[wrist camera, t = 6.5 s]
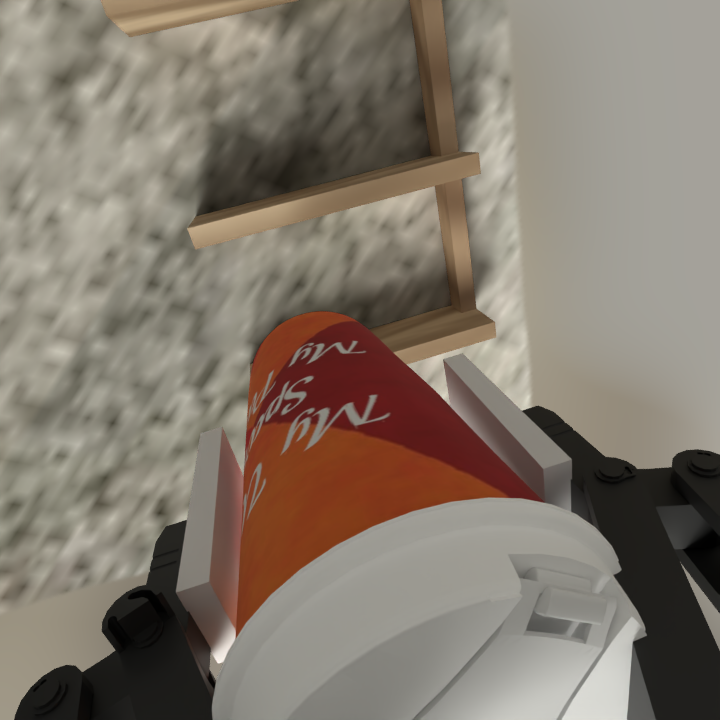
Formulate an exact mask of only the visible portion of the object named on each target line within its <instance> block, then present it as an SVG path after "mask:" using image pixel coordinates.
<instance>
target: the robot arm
mask: <svg viewBox="0 0 720 720" xmlns="http://www.w3.org/2000/svg"><path fill="white" fill-rule="evenodd" d="M443 361H444V368H445V374H446V381H447V387H448V394H449V400H450V407H451V408H452V409H453V410H454V411H455V412H456V413H457V414H458V415H459V416H460V417H461V418H462V419H463V420H464V421H465V422H466V423H467V424H468V426H469V427H470V428H471V429H472V430H473V431H474V432H475V433H476V434H477V435H478V436H479V437H480V438H481V439H482V440H483V441H484V442H485V443H486V444H487V445H488V446H489V447H490V448H491V449H492V450H493V451H494V453H496V454H497V455H498V456H499V457H500V458H501V459H502V460H503V461H504V462H505V463H506V464H507V465H508V466H509V467H510V468H511V469H512V470H513V471H514V472H515V473H516V474H517V475H518V476H519V477H520V478H521V479H522V480H523V481H524V482H525V483H526V484H527V485H528V486H529V487H530V488H531V489H532V490H533V491H534V492H535V493H536V494H537V495H538V496H539V497H540V498H541V499H542V500H543V501H544V502H545V503H548V504H552V505H555V506H557V507H560V508H562V509H565V510H567V511H570V512H572V513H575V514H577V515H578V516H580V517H581V518H582V519H584V520H585V521H587V522H588V523H590V524H591V525H593V526H594V527H595V528H596V529H597V530H598V531H599V532H600V533H601V534H602V535H603V536H604V538H605V539H606V540H607V541H608V542H609V543H610V545H611V546H612V547H613V549H614V551H615V553H616V555H617V558H618V560H619V561H618V563H619V565H620V567H621V571H620V572H619V573H617V574H614V575H613V576H614V577H615V579H616V580H617V582H618V583H619V585H620V586H621V587H622V589H623V590H624V592H625V593H626V595H627V596H628V598H629V599H630V601H631V602H632V604H633V605H634V607H635V608H636V610H637V611H638V613H639V615H640V617H641V619H642V621H643V623H644V625H645V632H646V634H647V636H645V637H643V638H640V639H638V640H636V641H633V644H632V658H631V671H630V685H629V698H628V712H627V720H720V651H719V648H718V646H717V644H716V642H715V639H714V637H713V635H712V633H711V630H710V628H709V626H708V624H707V622H706V619H705V617H704V615H703V613H702V610H701V608H700V606H699V604H698V601H697V599H696V597H695V595H694V592H693V590H692V588H691V586H690V583H689V581H688V579H687V577H686V574H685V572H684V570H683V568H682V566H681V564H682V565H683V566H684V568H685V569H686V570H687V571H688V573H689V574H690V575H691V577H692V578H693V579H694V581H695V582H696V583H697V584H698V586H699V587H700V588H701V590H702V591H703V592H704V593H705V595H706V596H707V597H708V599H709V600H710V601H711V602H712V604H713V605H714V606H715V608H716V609H717V610H718V612H719V613H720V455H719V454H716V453H713V452H710V451H704V450H686V451H683V452H680V453H678V454H677V455H676V456H675V457H674V458H673V462H672V467H669V468H655V469H636V467H635V466H633V465H632V464H630V463H629V462H627V461H624V460H621V459H618V458H611V457H605V456H604V455H602V454H601V453H600V452H599V451H598V450H597V449H596V448H594V447H593V446H592V445H591V444H590V443H589V442H587V441H586V440H585V439H584V438H583V437H582V436H581V435H580V434H578V433H577V432H576V431H574V430H573V428H572V427H570V426H569V425H568V424H567V423H565V422H564V421H563V420H562V419H561V418H560V417H559V416H558V415H556V414H555V413H554V412H553V411H550V410H548V409H545V408H543V407H540V406H536V407H532V408H529V409H526V410H523V411H521V410H520V409H519V408H518V407H517V406H516V405H515V404H514V403H513V402H512V401H511V400H510V399H509V398H508V397H507V396H506V395H505V394H504V393H503V392H502V391H501V390H500V389H499V388H498V387H497V386H496V385H495V384H494V383H492V382H491V381H490V380H489V379H488V378H487V377H486V376H485V375H484V374H483V373H482V372H481V371H480V370H479V369H478V368H477V367H476V366H475V365H474V364H473V363H472V362H471V361H470V360H469V359H468V358H467V357H466V356H465V355H464V354H463V353H462V354H459V355H456V356H453V357H449V358H446V359H443ZM243 484H244V477H243V475H242V472H241V470H240V468H239V465H238V463H237V460H236V458H235V456H234V453H233V451H232V449H231V446H230V444H229V442H228V439H227V437H226V435H225V432H224V430H223V428H222V427H219V428H216V429H213V430H209V431H206V432H203V433H201V434H200V440H199V447H198V453H197V460H196V466H195V472H194V479H193V485H192V492H191V498H190V504H189V511H188V517H187V520H185V521H182V522H179V523H176V524H173V525H169V526H166V527H165V529H164V530H163V532H162V533H161V535H160V537H159V538H158V540H157V541H156V544H155V548H154V553H153V560H152V562H151V566H150V572H149V575H148V580H147V584H146V585H143V586H139V587H136V588H134V589H132V590H130V591H128V592H126V593H125V594H124V595H122V596H121V597H120V598H119V599H117V600H116V601H115V602H114V604H113V605H112V606H111V607H110V608H109V610H108V611H107V613H106V615H105V617H104V619H103V622H102V632H103V634H104V635H105V636H106V638H107V639H108V640H109V642H110V643H111V644H112V645H113V647H114V648H115V650H116V651H114V652H113V653H112V654H110V655H109V656H107V657H106V658H104V659H103V660H101V661H100V662H98V663H96V664H95V665H93V666H92V667H91V668H89V669H87V670H85V671H84V672H81V671H80V670H79V669H78V668H77V667H76V666H71V665H65V666H62V667H59V668H56V669H54V670H52V671H51V672H49V673H47V674H46V675H44V676H43V677H41V679H39V680H38V681H37V682H36V683H35V684H34V685H33V686H32V687H31V688H30V689H29V691H28V692H27V693H26V695H25V696H24V698H23V699H22V700H21V702H20V705H19V707H18V709H17V712H16V714H15V719H14V720H213V718H212V702H213V696H214V691H215V685H216V680H215V678H214V676H213V675H212V673H211V671H210V670H209V665H210V652H212V654H213V656H214V658H215V659H216V661H217V663H218V664H219V663H221V662H224V659H225V657H226V655H227V652H228V650H229V649H230V647H231V646H232V644H233V642H234V641H235V638H236V619H237V600H238V581H239V562H240V542H241V523H242V503H243ZM680 562H681V563H680Z"/></svg>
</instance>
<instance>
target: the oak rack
mask: <svg viewBox="0 0 720 720" xmlns="http://www.w3.org/2000/svg"><path fill="white" fill-rule="evenodd" d="M294 1H298V0H101V2H102V5H103V8H104V10H105V13H106V16H107V17H109V18H110V19H111V20H112V21H113V22H114V23H115V24H116V25H117V26H118V27H119V28H120V29H122V30H123V31H124V32H125V33H126V34H127V35H128V36H129V37H133V36H137V35H142V34H147V33H151V32H156V31H160V30H165V29H170V28H174V27H179V26H183V25H188V24H193V23H197V22H202V21H206V20H211V19H216V18H220V17H225V16H229V15H234V14H239V13H243V12H248V11H252V10H257V9H262V8H266V7H271V6H275V5H280V4H285V3H289V2H294ZM409 1H410V8H411V16H412V23H413V30H414V37H415V45H416V52H417V59H418V66H419V74H420V81H421V88H422V95H423V103H424V110H425V117H426V124H427V132H428V139H429V146H430V153H431V156H427V157H424V158H420V159H416V160H412V161H408V162H404V163H400V164H397V165H393V166H389V167H385V168H381V169H377V170H373V171H370V172H366V173H362V174H358V175H354V176H350V177H346V178H342V179H339V180H335V181H331V182H327V183H323V184H319V185H315V186H312V187H308V188H304V189H300V190H296V191H292V192H288V193H285V194H281V195H277V196H273V197H269V198H265V199H261V200H258V201H254V202H250V203H246V204H242V205H238V206H234V207H230V208H227V209H223V210H219V211H215V212H211V213H207V214H203V215H200V216H196V217H195V218H194V220H193V221H192V223H191V224H190V226H189V227H188V231H189V234H190V237H191V239H192V242H193V245H194V247H195V249H199V248H203V247H207V246H210V245H214V244H218V243H222V242H225V241H229V240H233V239H237V238H240V237H244V236H248V235H252V234H255V233H259V232H263V231H267V230H270V229H274V228H278V227H282V226H286V225H289V224H293V223H297V222H301V221H304V220H308V219H312V218H316V217H319V216H323V215H327V214H331V213H334V212H338V211H342V210H346V209H349V208H353V207H357V206H361V205H364V204H368V203H372V202H376V201H380V200H383V199H387V198H391V197H395V196H398V195H402V194H406V193H410V192H413V191H417V190H421V189H425V188H428V187H432V186H435V190H436V197H437V204H438V211H439V219H440V226H441V233H442V240H443V248H444V255H445V262H446V269H447V277H448V284H449V291H450V298H451V305H450V306H447V307H443V308H440V309H437V310H433V311H430V312H426V313H423V314H420V315H416V316H413V317H409V318H406V319H403V320H399V321H396V322H392V323H389V324H386V325H382V326H379V327H375V328H372V329H369V330H370V331H371V332H372V333H373V334H374V335H376V336H377V337H378V338H379V339H380V340H381V341H382V342H383V343H384V344H385V345H386V346H387V347H388V348H389V349H390V350H391V351H392V352H393V353H394V354H395V355H397V356H398V357H399V358H400V359H401V360H402V361H403V362H404V363H405V364H410V363H413V362H416V361H419V360H423V359H426V358H429V357H433V356H436V355H439V354H442V353H446V352H449V351H452V350H456V349H459V348H462V347H465V346H469V345H472V344H475V343H479V342H482V341H485V340H488V339H492V338H495V337H496V329H495V322H494V321H493V320H491V319H490V318H489V317H487V316H486V315H484V314H483V313H482V312H480V311H479V310H477V309H476V301H475V293H474V284H473V275H472V266H471V257H470V248H469V239H468V230H467V222H466V213H465V204H464V195H463V186H462V178H466V177H470V176H474V175H477V174H481V171H480V161H479V153H476V152H459V151H458V142H457V133H456V124H455V115H454V106H453V97H452V88H451V80H450V71H449V62H448V53H447V44H446V35H445V26H444V17H443V9H442V0H409ZM252 365H253V364H250V377H251V371H252Z"/></svg>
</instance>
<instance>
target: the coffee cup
mask: <svg viewBox="0 0 720 720" xmlns="http://www.w3.org/2000/svg"><path fill="white" fill-rule="evenodd" d="M618 561H619V560H618V558H617V555H616V553H615V551H614V549H613V547H612V546H611V545H610V543H609V542H608V541H607V540H606V539H605V538H604V536H603V535H602V534H601V533H600V532H599V531H598V530H597V529H596V528H595V527H594V526H593V525H591V524H590V523H588V522H587V521H585V520H584V519H582V518H581V517H580V516H578V515H577V514H575V513H572V512H570V511H567V510H565V509H562V508H560V507H557V506H555V505H552V504H548V503H545V502H544V501H543V500H542V499H541V498H540V497H539V496H538V495H537V494H536V493H535V492H534V491H533V490H532V489H531V488H530V487H529V486H528V485H527V484H526V483H525V482H524V481H523V480H522V479H521V478H520V477H519V476H518V475H517V474H516V473H515V472H514V471H513V470H512V469H511V468H510V467H509V466H508V465H507V464H506V463H505V462H504V461H503V460H502V459H501V458H500V457H499V456H498V455H497V454H496V453H494V451H493V450H492V449H491V448H490V447H489V446H488V445H487V444H486V443H485V442H484V441H483V440H482V439H481V438H480V437H479V436H478V435H477V434H476V433H475V432H474V431H473V430H472V429H471V428H470V427H469V426H468V424H467V423H466V422H465V421H464V420H463V419H462V418H461V417H460V416H459V415H458V414H457V413H456V412H455V411H454V410H453V409H452V408H451V407H450V406H449V405H448V404H447V403H446V402H445V401H444V400H443V399H442V397H441V396H440V395H439V394H438V393H437V392H436V391H435V390H434V389H433V388H432V387H430V386H429V385H428V384H427V383H426V382H425V381H424V380H423V379H422V378H421V377H419V376H418V375H417V374H416V373H415V372H414V371H413V370H412V369H411V368H409V367H408V366H407V365H406V364H405V363H404V362H403V361H402V360H401V359H400V358H399V357H398V356H397V355H395V354H394V353H393V352H392V351H391V350H390V349H389V348H388V347H387V346H386V345H385V344H384V343H383V342H382V341H381V340H380V339H379V338H378V337H377V336H376V335H374V334H373V333H372V332H371V331H370V330H369V329H367V328H366V327H365V326H364V325H362V324H361V323H359V322H358V321H356V320H354V319H352V318H350V317H348V316H346V315H343V314H339V313H335V312H328V311H316V312H309V313H304V314H301V315H298V316H295V317H293V318H291V319H289V320H287V321H285V322H283V323H282V324H280V325H279V326H278V327H276V328H275V329H274V330H273V331H272V332H271V333H270V334H269V335H268V336H267V337H266V338H265V340H264V341H263V342H262V344H261V346H260V347H259V349H258V351H257V353H256V356H255V358H254V362H253V365H252V371H251V377H250V387H249V398H248V413H247V429H246V447H245V465H244V484H243V503H242V523H241V542H240V562H239V581H238V600H237V619H236V638H235V641H234V642H233V644H232V646H231V647H230V649H229V650H228V652H227V655H226V657H225V659H224V662H223V664H222V667H221V669H220V672H219V674H218V677H217V679H216V685H215V691H214V696H213V702H212V718H213V720H627V712H628V698H629V685H630V671H631V658H632V644H633V641H636V640H638V639H640V638H643V637H645V636H647V634H646V632H645V625H644V623H643V621H642V619H641V617H640V615H639V613H638V611H637V610H636V608H635V607H634V605H633V604H632V602H631V601H630V599H629V598H628V596H627V595H626V593H625V592H624V590H623V589H622V587H621V586H620V585H619V583H618V582H617V580H616V579H615V577H614V576H613V575H614V574H617V573H619V572H620V571H621V567H620V565H619V563H618Z"/></svg>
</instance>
